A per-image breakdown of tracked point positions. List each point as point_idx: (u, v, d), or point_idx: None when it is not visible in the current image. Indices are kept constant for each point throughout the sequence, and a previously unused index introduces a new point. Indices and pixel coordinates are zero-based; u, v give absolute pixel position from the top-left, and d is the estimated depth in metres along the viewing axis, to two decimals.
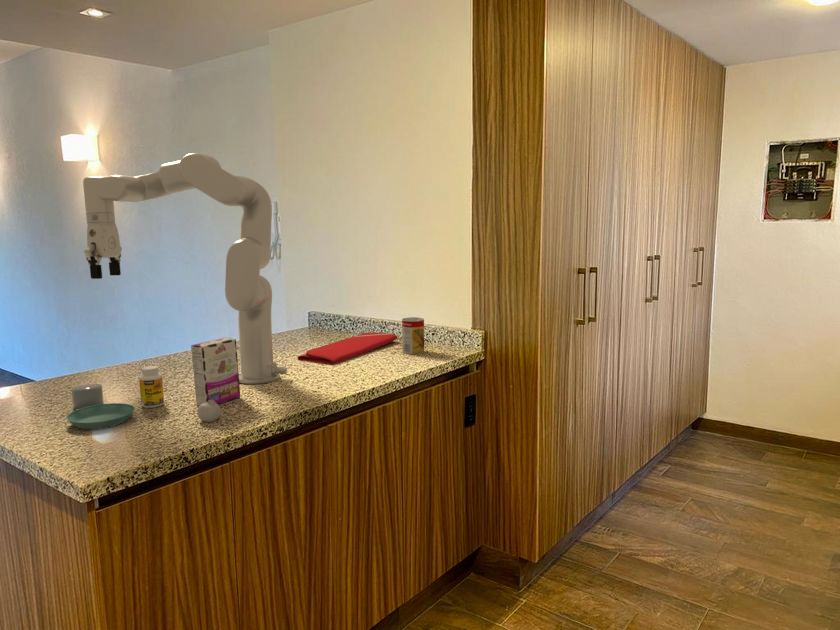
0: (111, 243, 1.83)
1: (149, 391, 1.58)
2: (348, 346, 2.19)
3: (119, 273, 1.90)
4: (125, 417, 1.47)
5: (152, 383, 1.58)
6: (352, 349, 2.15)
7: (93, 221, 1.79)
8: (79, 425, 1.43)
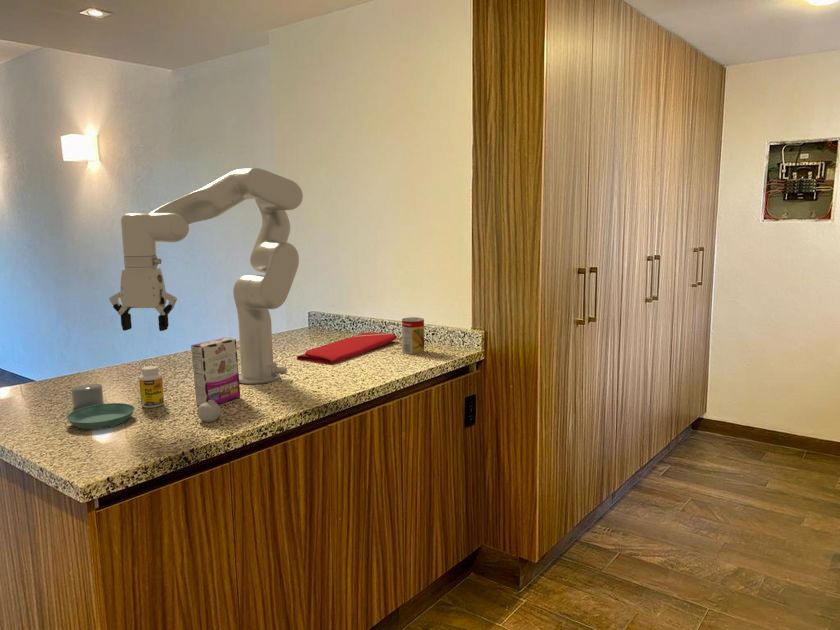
0: None
1: (149, 391, 1.58)
2: (347, 346, 2.19)
3: None
4: (125, 417, 1.47)
5: (152, 383, 1.58)
6: (352, 349, 2.16)
7: (154, 265, 1.56)
8: (79, 425, 1.43)
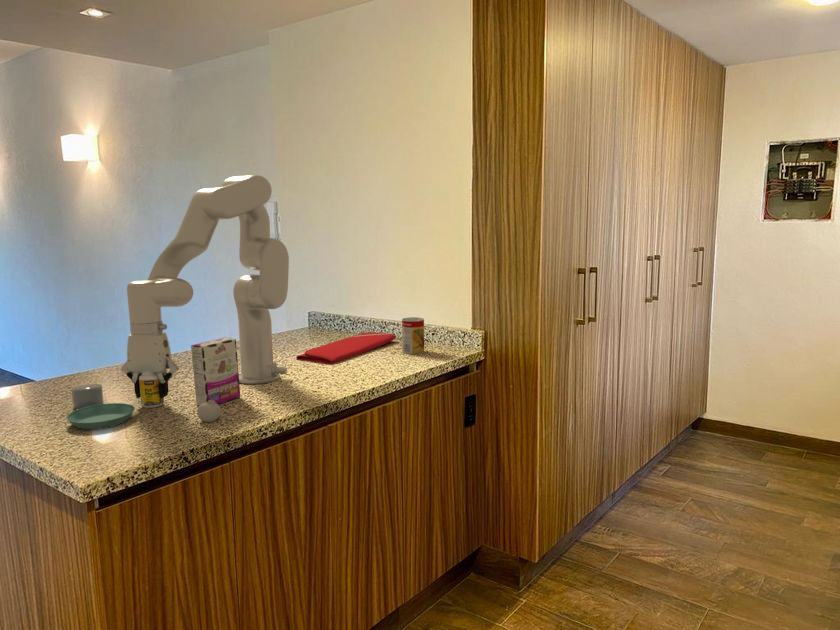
0: None
1: (149, 391, 1.58)
2: (347, 346, 2.20)
3: None
4: (125, 417, 1.47)
5: (152, 383, 1.58)
6: (351, 349, 2.16)
7: (160, 331, 1.58)
8: (79, 425, 1.43)
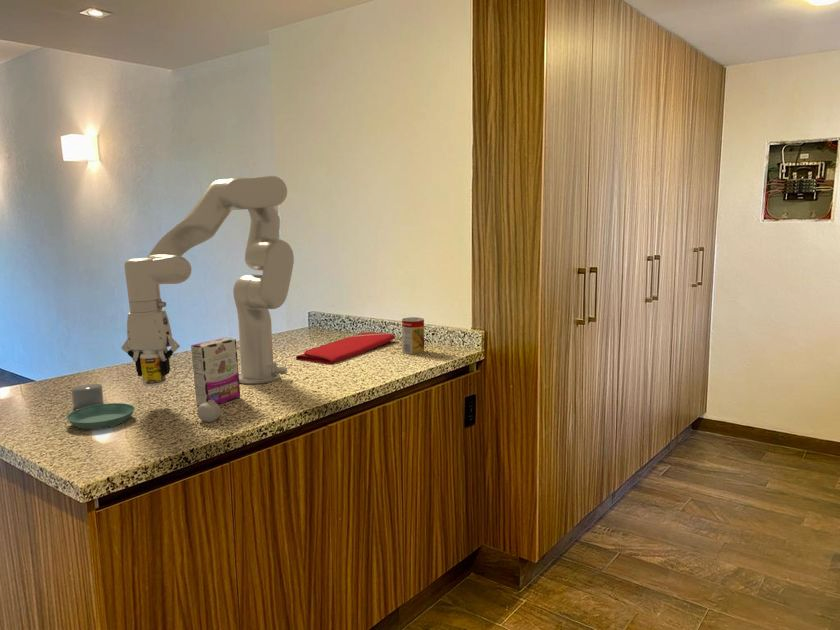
0: None
1: (150, 369, 1.58)
2: (346, 346, 2.20)
3: None
4: (125, 417, 1.47)
5: (153, 361, 1.58)
6: (351, 349, 2.16)
7: (159, 308, 1.58)
8: (79, 425, 1.43)
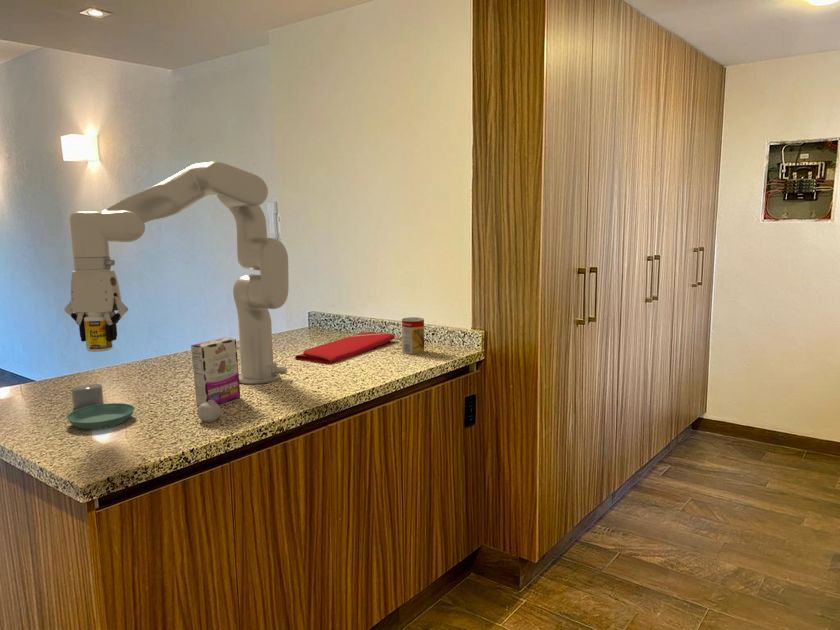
0: None
1: (94, 333, 1.44)
2: (345, 346, 2.20)
3: None
4: (125, 417, 1.47)
5: (98, 325, 1.44)
6: (350, 349, 2.16)
7: (107, 267, 1.44)
8: (79, 425, 1.43)
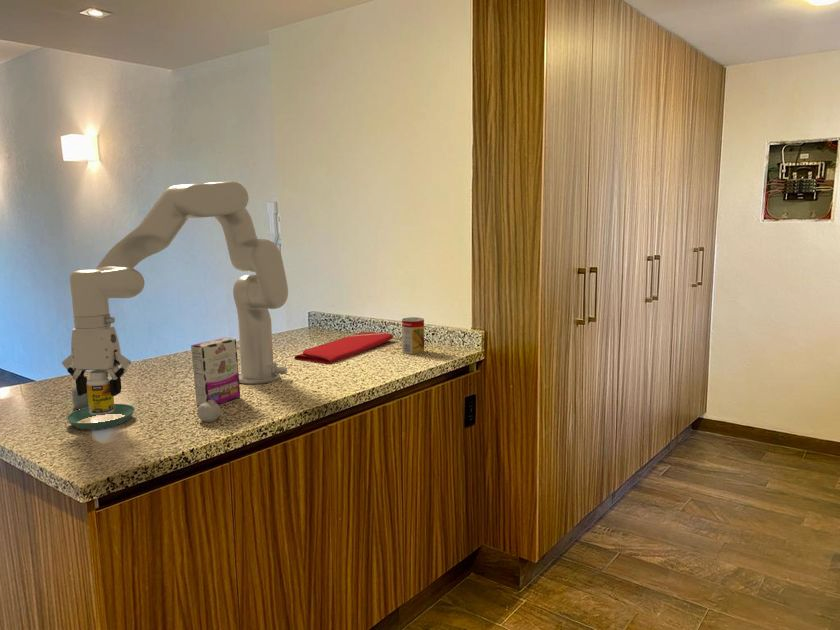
0: None
1: (97, 397, 1.46)
2: (345, 345, 2.20)
3: None
4: (125, 418, 1.47)
5: (100, 389, 1.46)
6: (349, 349, 2.17)
7: (107, 324, 1.45)
8: (79, 426, 1.43)
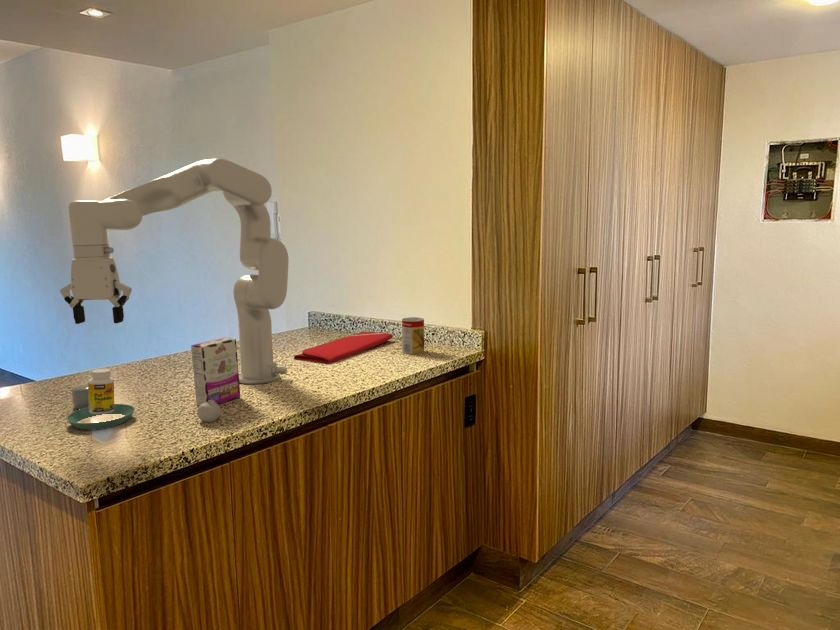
0: None
1: (99, 396, 1.46)
2: (344, 345, 2.21)
3: None
4: (125, 418, 1.47)
5: (103, 388, 1.46)
6: (348, 349, 2.17)
7: (106, 254, 1.48)
8: (79, 426, 1.43)
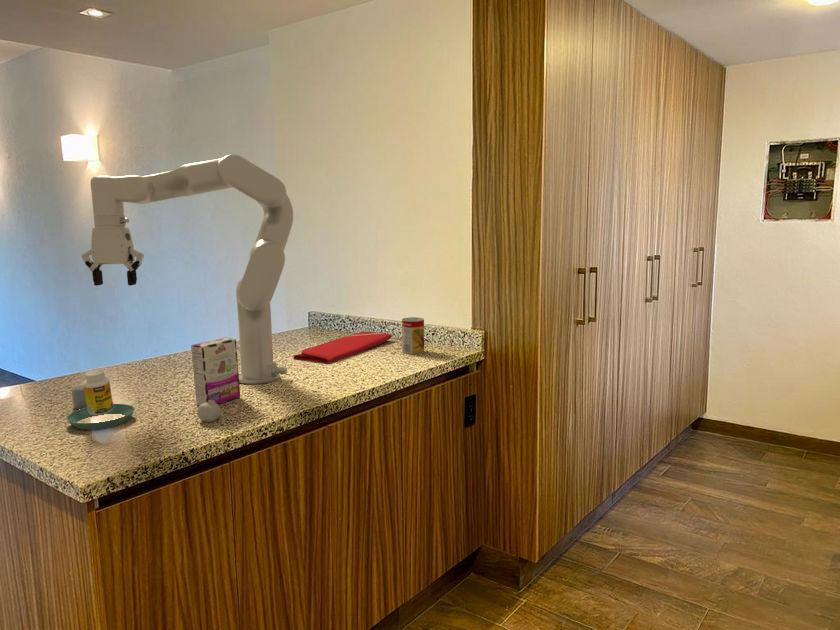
0: None
1: (100, 398, 1.45)
2: (343, 345, 2.21)
3: None
4: (125, 418, 1.47)
5: (103, 389, 1.45)
6: (348, 349, 2.17)
7: (123, 224, 1.68)
8: (79, 426, 1.43)
